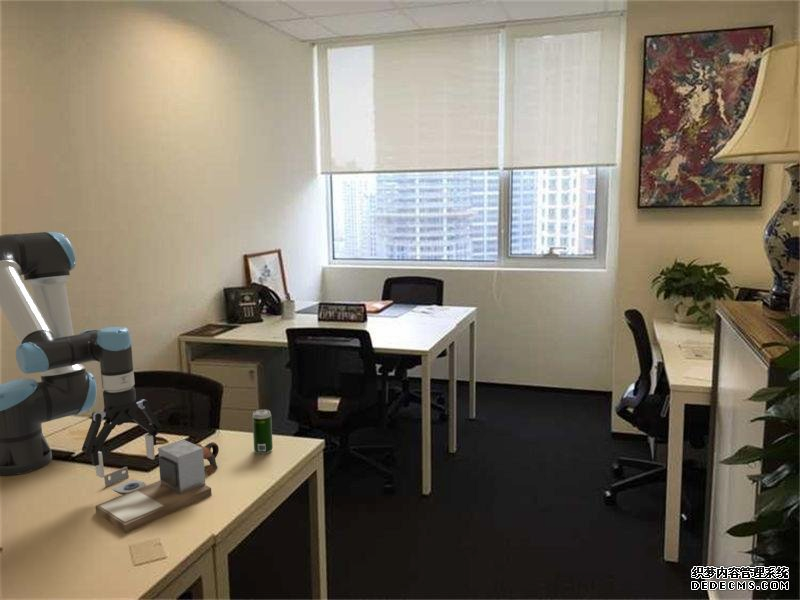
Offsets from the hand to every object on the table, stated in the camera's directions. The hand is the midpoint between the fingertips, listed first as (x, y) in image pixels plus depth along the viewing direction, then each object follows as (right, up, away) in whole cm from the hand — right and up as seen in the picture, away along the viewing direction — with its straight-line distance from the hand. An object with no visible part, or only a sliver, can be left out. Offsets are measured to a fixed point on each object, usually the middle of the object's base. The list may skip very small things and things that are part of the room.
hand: (126, 466), depth 161 cm
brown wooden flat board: (+11, -7, -9) cm, 16 cm away
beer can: (+31, -1, +22) cm, 38 cm away
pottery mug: (+16, -4, +11) cm, 20 cm away
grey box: (+16, -4, -3) cm, 16 cm away
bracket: (0, -6, +1) cm, 6 cm away
